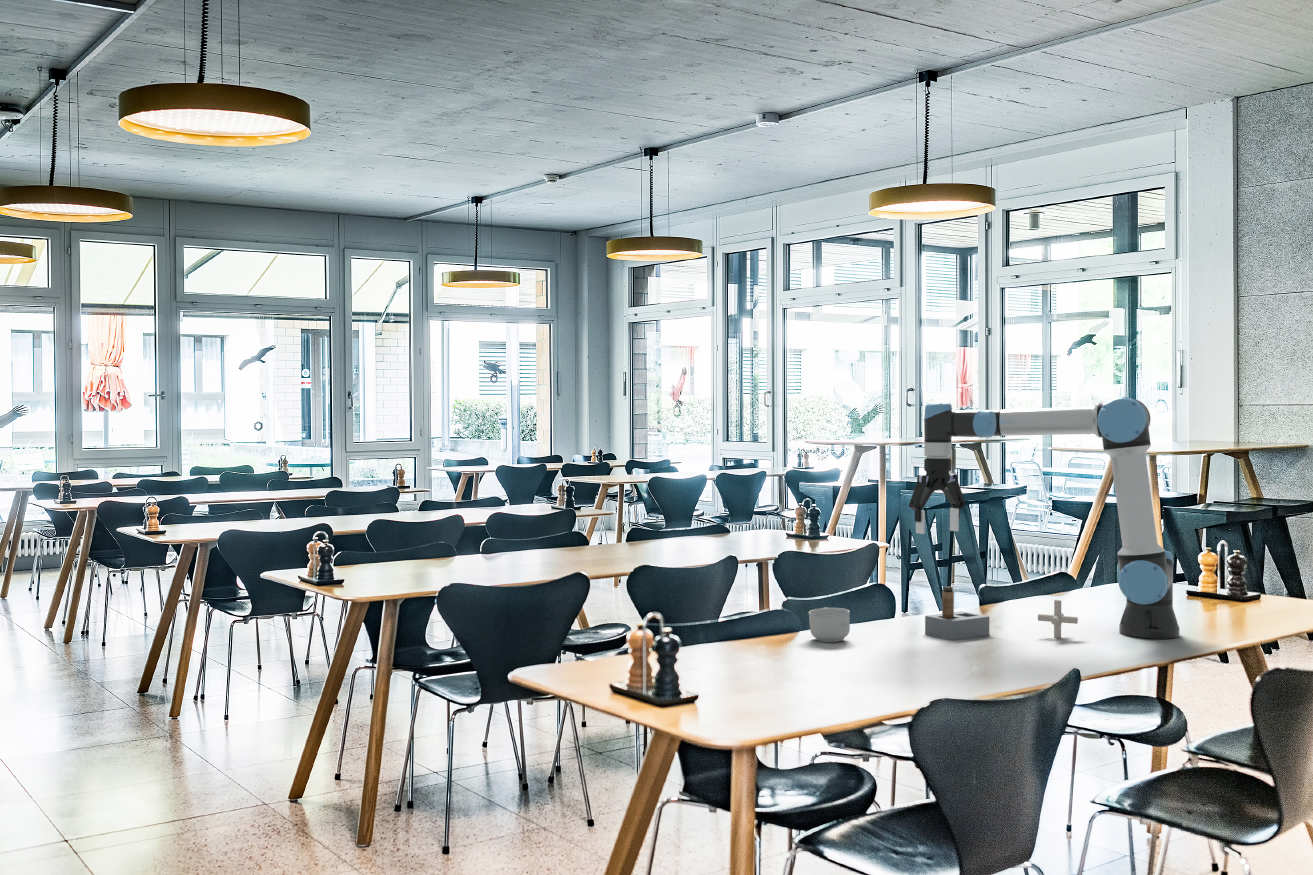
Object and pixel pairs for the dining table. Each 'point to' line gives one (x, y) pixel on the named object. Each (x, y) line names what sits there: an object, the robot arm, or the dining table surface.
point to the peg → (948, 603)
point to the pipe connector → (1057, 618)
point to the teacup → (829, 624)
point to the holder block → (957, 625)
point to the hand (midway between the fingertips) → (937, 532)
